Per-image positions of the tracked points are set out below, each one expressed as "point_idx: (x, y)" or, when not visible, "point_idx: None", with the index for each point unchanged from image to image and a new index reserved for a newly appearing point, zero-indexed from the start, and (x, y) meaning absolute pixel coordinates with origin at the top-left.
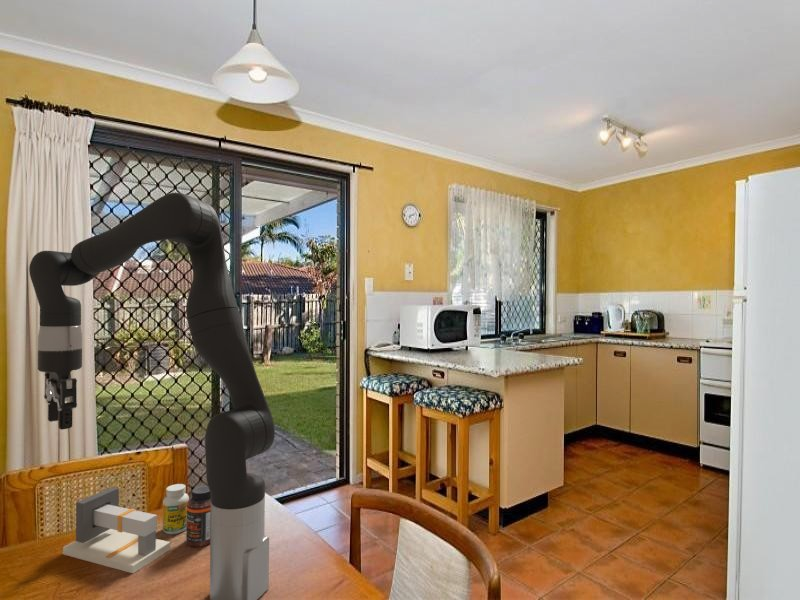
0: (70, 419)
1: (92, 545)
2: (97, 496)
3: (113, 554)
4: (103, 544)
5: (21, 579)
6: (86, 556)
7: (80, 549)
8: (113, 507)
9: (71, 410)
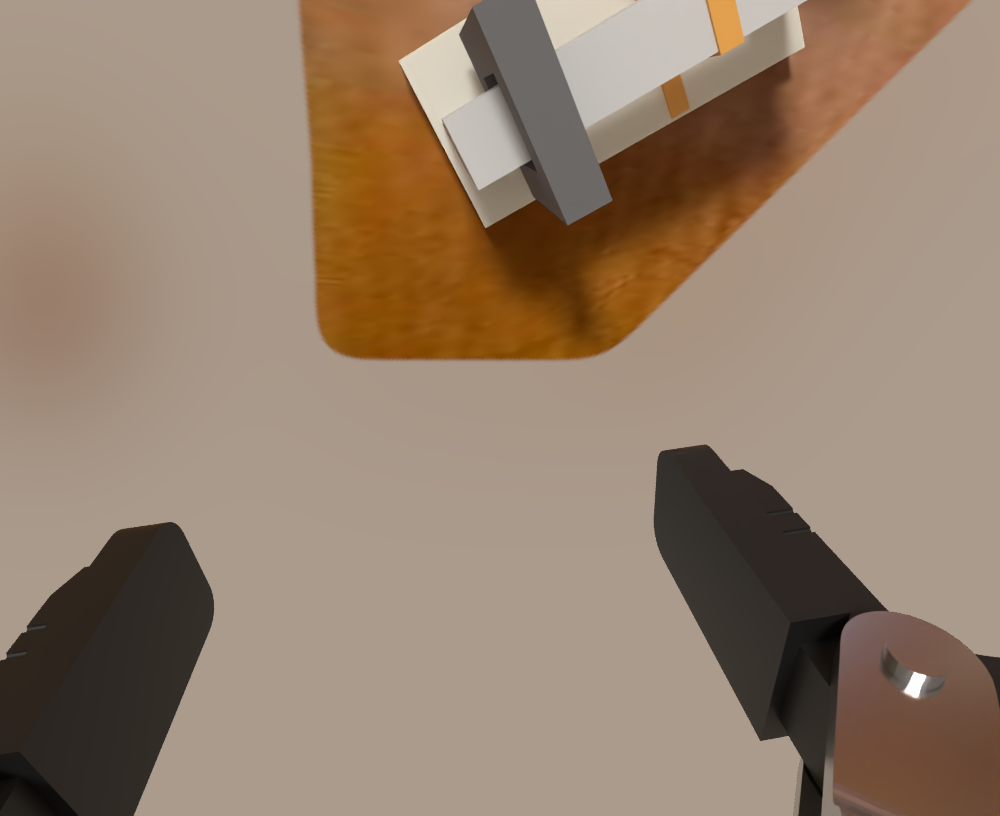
0: (805, 526)
1: None
2: (567, 120)
3: (682, 89)
4: None
5: (558, 330)
6: None
7: None
8: (601, 45)
9: (840, 613)
